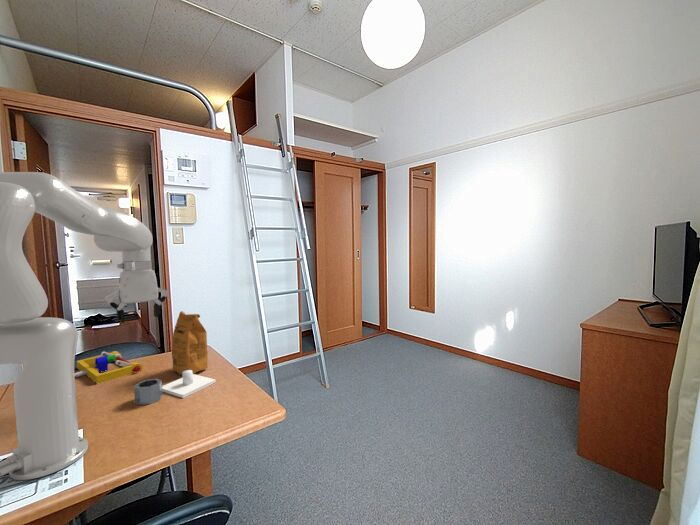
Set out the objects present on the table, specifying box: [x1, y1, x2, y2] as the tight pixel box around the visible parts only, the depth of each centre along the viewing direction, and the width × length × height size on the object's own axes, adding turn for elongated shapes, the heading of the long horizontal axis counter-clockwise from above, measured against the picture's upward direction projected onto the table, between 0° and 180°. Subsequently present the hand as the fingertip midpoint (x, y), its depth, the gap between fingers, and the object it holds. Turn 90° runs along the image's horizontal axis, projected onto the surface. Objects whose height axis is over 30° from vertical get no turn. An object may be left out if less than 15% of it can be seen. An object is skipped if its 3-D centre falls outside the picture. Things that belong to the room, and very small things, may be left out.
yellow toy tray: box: [74, 350, 143, 385], centre depth 119 cm, size 18×6×30 cm
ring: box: [133, 378, 163, 406], centre depth 96 cm, size 7×7×5 cm
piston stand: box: [162, 370, 216, 399], centre depth 104 cm, size 12×12×5 cm
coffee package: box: [171, 311, 209, 376], centre depth 117 cm, size 10×12×22 cm
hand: (139, 319), depth 102 cm, fingers open, 9 cm apart
